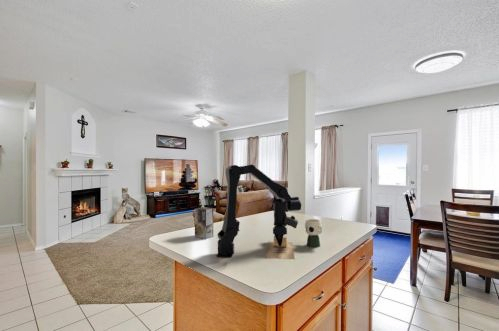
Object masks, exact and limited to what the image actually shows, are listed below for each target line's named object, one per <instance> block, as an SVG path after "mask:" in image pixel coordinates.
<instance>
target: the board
mask: <svg viewBox="0 0 499 331" xmlns="http://www.w3.org/2000/svg"><path fill="white" fill-rule="evenodd" d="M265 259H279V260H280V259H282V260H296V258H295V252H294V246H293V242H288V241H287V247H274V241H268V243H267V247H266V252H265Z"/></svg>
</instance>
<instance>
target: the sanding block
mask: <svg viewBox="0 0 499 331" xmlns="http://www.w3.org/2000/svg"><path fill="white" fill-rule="evenodd" d="M287 238H288V237H287V236H286V235H284V236H283V240H282V245H281V246H279V245H278V242H277V240H276V237H275V235H273V242H274V247H287V242H288V240H287Z"/></svg>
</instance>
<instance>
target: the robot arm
mask: <svg viewBox="0 0 499 331" xmlns="http://www.w3.org/2000/svg"><path fill="white" fill-rule="evenodd" d="M246 174H247V175H248V174H250V176H252V177H253V178H255V179H256V180H257V181H258V182H260V183H261V184H262V185H264V186H265V187H266V188H267V189H268V191H269V192H270V193H271V195H272V196H274V197H272V198H271V199H270V200H269V202H270V203H271V204H273V228H272V234H273V236H275V237H276V240H277V242H278V245H279V246H281V245H282V240H283V236H286V235H288V228H287V226H289V227H292V228H293V229H297V226H298V224H299V221H298V220H297V219H296V217H295V216H294V215H291V216H288V215H287V211H288V212H296V211H301V209H302V203H301V200H300V198H299V196H293V197H292V196H291V195H290V194H289V192H288V188H287V187H286V186H284V185H282V184H281V183H278V182H276V181H274V180H273V179H272V178H270V177H269V176H267V175H266V174H265V173H264V172H262V171H261V170H260V169H259V168H258V167H257V166H256V165H254V164H248V165H240V166H239V165H236V164H232V165H229V166H227V167H226V168H225V178H226V179H225V180H226V183H227V184H226V185H227V193H226V194H227V196H226V212H225V217H224V220H223V223H222V227H221V229H220V230H219V232H218V233H217V238H218V240H217V254H216V257H219V258H232V257H233V255H234V254H235V243H234V241H235V238H236V237H237V236H238V233H239V232H240V224H241V222H240V221H239V220H238V219H236V214H237V199H238V198H237V195H238V184H239V182H240V179H241V175H246Z"/></svg>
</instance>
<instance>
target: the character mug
mask: <svg viewBox="0 0 499 331" xmlns="http://www.w3.org/2000/svg"><path fill="white" fill-rule="evenodd" d="M304 228H305V233H306V234H307V241H306V246H309V248H320V247H321V241H320V236H319V235H321V234H322V233H323V226H322V221H321V220H320V219H315V218H307V219H305V222H304Z"/></svg>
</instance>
